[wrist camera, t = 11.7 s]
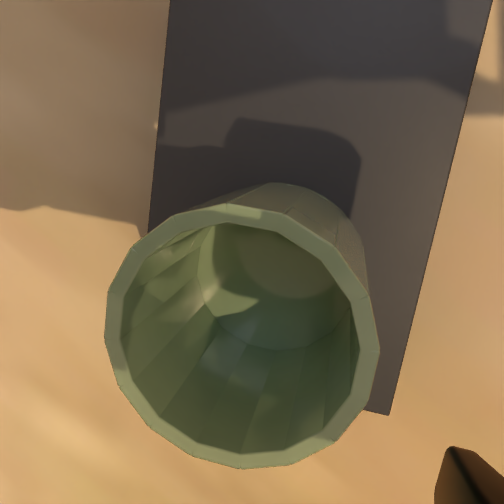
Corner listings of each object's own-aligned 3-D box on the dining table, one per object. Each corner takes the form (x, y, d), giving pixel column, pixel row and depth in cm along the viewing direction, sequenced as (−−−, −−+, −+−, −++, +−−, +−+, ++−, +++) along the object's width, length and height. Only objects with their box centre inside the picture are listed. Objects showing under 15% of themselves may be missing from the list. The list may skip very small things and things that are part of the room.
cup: (385, 199, 17) (408, 236, 10) (347, 370, 18) (345, 499, 12) (203, 168, 18) (115, 182, 11) (183, 332, 19) (95, 430, 13)
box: (480, -26, 18) (509, -63, 14) (383, 377, 22) (389, 417, 18) (206, -52, 19) (177, -90, 16) (164, 327, 23) (134, 355, 20)
